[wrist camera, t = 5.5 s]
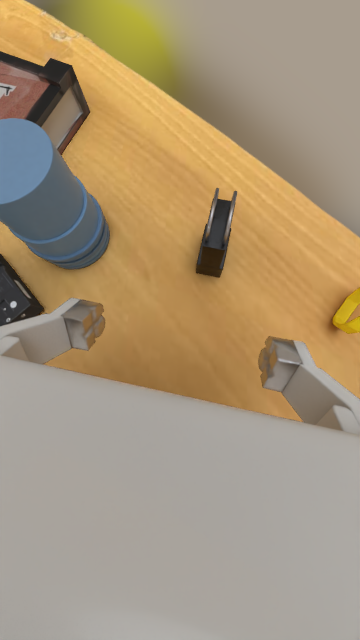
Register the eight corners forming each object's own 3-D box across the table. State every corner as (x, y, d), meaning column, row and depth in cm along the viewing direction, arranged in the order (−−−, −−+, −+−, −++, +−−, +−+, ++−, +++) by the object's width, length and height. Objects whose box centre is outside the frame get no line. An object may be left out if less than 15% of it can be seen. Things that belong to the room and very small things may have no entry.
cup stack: (72, 286, 26) (-10, 236, 15) (26, 240, 28) (-79, 164, 17) (126, 235, 27) (85, 153, 16) (79, 192, 29) (12, 92, 18)
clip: (219, 277, 26) (234, 239, 17) (195, 273, 26) (199, 232, 17) (227, 240, 26) (245, 186, 18) (204, 235, 27) (211, 180, 18)
